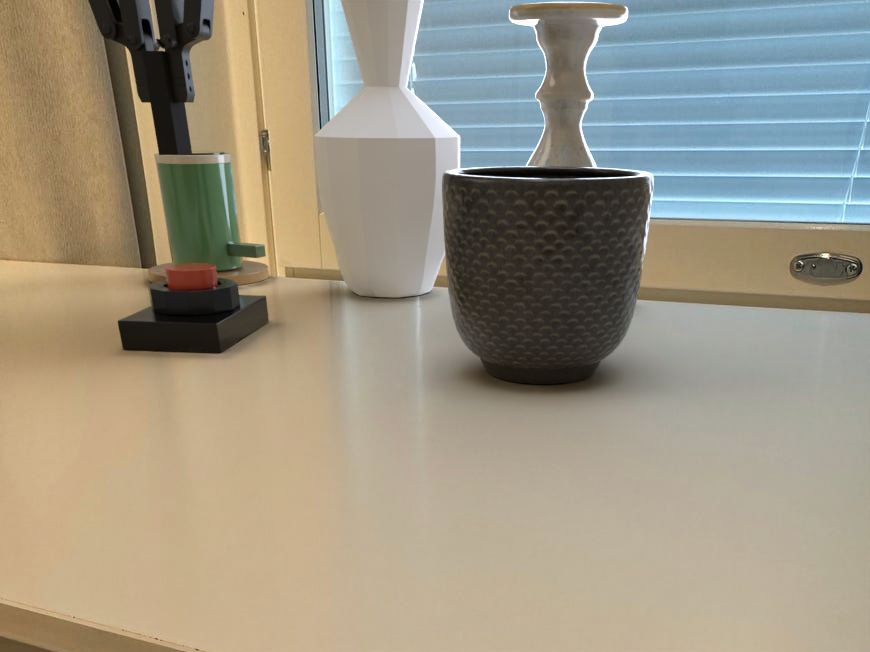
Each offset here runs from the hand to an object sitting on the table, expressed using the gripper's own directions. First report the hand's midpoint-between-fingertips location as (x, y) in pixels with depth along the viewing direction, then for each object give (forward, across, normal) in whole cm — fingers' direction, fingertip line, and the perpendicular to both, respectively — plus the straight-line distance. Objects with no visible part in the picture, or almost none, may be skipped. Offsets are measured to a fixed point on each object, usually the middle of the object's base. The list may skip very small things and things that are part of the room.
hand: (175, 153), depth 67 cm
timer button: (+10, 0, 0) cm, 10 cm away
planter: (+14, -29, +8) cm, 33 cm away
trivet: (+13, +10, -28) cm, 33 cm away
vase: (+14, -12, -23) cm, 29 cm away
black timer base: (+13, 0, 0) cm, 13 cm away
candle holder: (+14, -29, -19) cm, 37 cm away
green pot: (+12, +9, -27) cm, 31 cm away
